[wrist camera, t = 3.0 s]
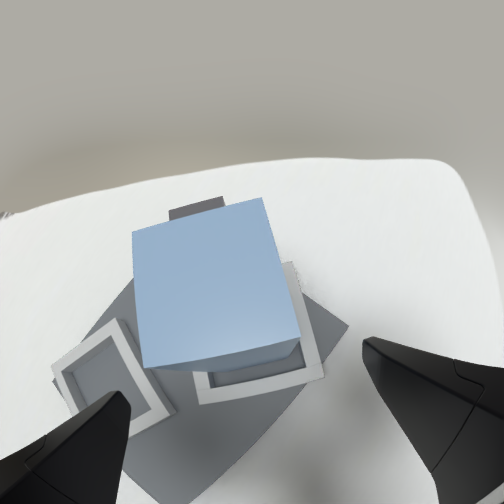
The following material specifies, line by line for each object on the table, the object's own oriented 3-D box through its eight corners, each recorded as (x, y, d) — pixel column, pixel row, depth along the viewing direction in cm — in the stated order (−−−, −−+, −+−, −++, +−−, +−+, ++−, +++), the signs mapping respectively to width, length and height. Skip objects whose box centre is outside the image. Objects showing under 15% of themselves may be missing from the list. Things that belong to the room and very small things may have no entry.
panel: (181, 515, 15) (172, 527, 12) (57, 382, 20) (40, 380, 18) (359, 321, 20) (368, 314, 18) (202, 210, 26) (195, 195, 24)
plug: (287, 358, 19) (301, 336, 7) (225, 372, 19) (143, 368, 7) (269, 289, 21) (256, 178, 9) (211, 303, 21) (131, 212, 9)
